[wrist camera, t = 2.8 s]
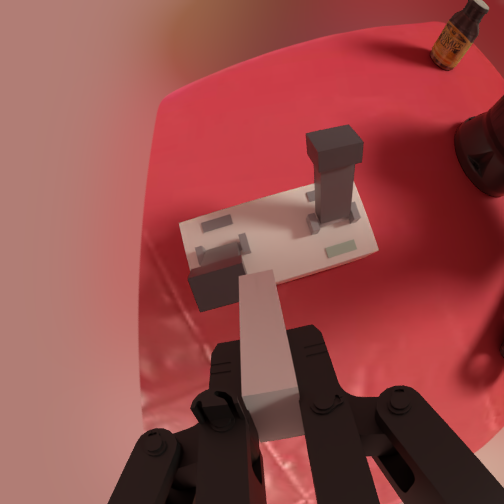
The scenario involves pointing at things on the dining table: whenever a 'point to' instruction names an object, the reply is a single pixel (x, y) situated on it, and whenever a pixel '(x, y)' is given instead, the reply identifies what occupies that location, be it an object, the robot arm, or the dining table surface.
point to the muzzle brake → (502, 350)
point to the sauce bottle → (458, 35)
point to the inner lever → (334, 169)
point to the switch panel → (282, 235)
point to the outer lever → (218, 277)
